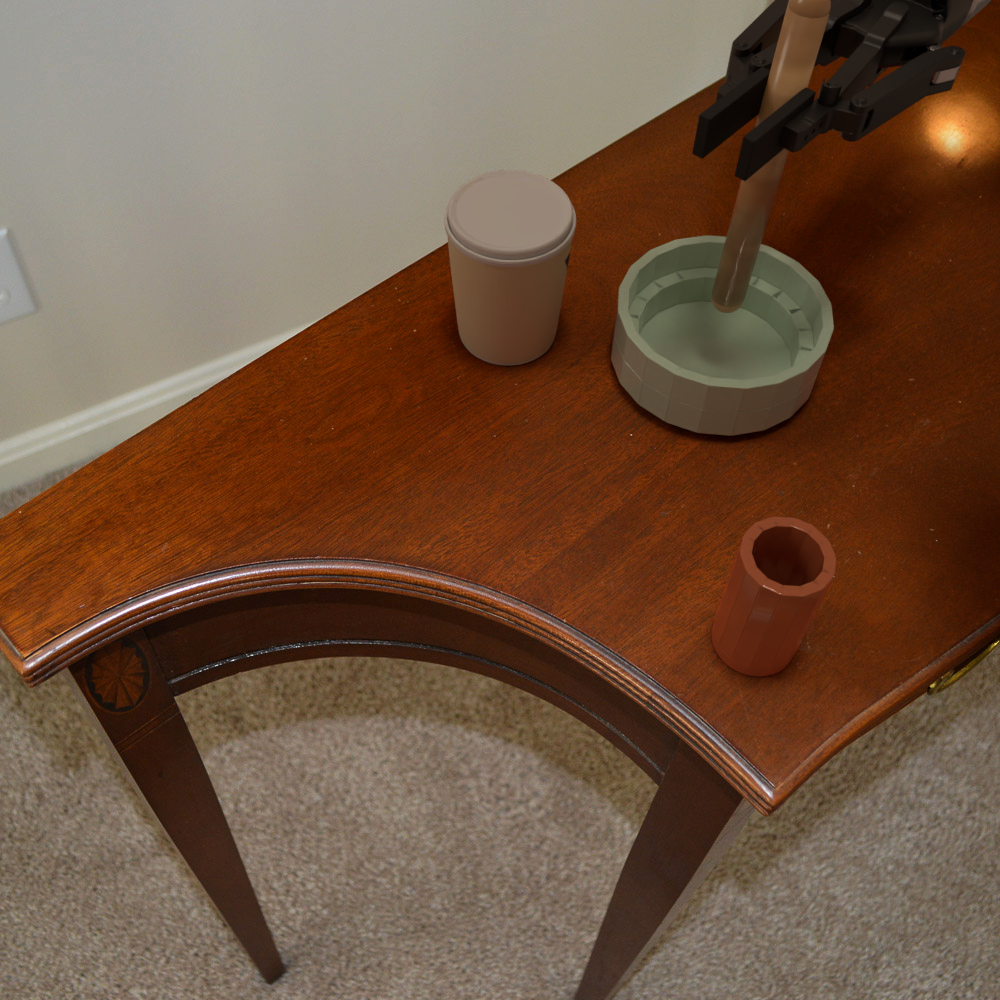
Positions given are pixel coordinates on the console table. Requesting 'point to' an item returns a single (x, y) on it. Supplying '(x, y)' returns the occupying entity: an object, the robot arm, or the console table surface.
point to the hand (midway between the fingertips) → (722, 147)
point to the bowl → (719, 339)
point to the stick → (760, 189)
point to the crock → (772, 595)
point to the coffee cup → (509, 263)
